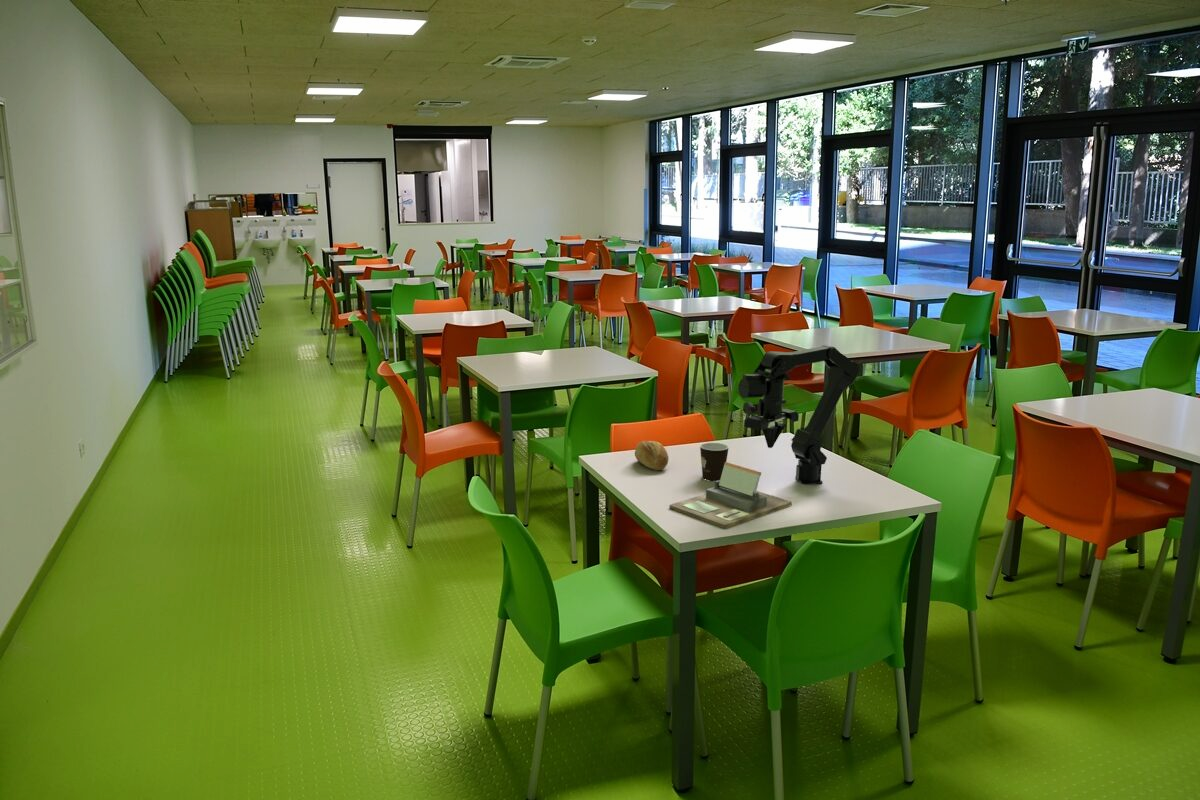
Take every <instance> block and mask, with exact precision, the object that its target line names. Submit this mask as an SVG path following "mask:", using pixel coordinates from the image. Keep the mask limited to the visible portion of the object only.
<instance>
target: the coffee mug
mask: <svg viewBox="0 0 1200 800" xmlns="http://www.w3.org/2000/svg"><path fill="white" fill-rule="evenodd" d="M699 452H700V460H701V461H700V462H701V472H702V473H701V474H702V479H703V478H704V479H706V480H705V481H707V480H710V481H709V482H715V481H718V480H719V481H720V479H721V475H722V472H723V468H724V464H725V462H728V454H729V445H727V444H726V443H725V444H724V443H720V442H705V443H701V444H700V445H699ZM704 479H703V480H704Z"/></svg>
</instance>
